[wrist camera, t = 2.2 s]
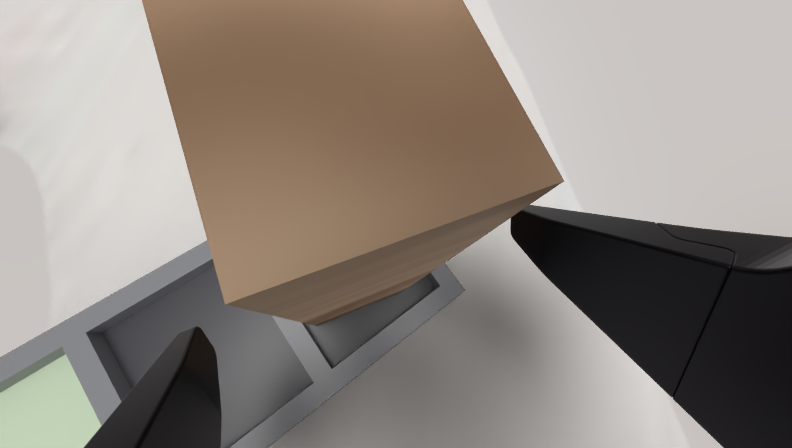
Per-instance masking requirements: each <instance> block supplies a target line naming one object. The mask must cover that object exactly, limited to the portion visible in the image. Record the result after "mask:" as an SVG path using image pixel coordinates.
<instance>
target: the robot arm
mask: <svg viewBox="0 0 792 448" xmlns="http://www.w3.org/2000/svg"><path fill="white" fill-rule="evenodd" d="M511 235H512V237H513V239H514V240H515V241H516V243H517V244H518V245H519V246H520V247H521V248H522V250H523V251H524V252H525V253H526V254H527V256H528V257H529V258H530V259H531V260H532V261H533V263H534V264H535V265H536V266H537V267H538V269H539V270H540V271H541V272H542V273H543V274H544V275H545V276H546V277H547V278H548V279H549V280H550V281H551V282H552V283H553V284H554V285H555V286H556V287H557V288H558V289H559V290H560V291H561V292H562V293H563V294H565V295H566V296H567V297H568V298H569V299H570V300H571V301H572V302H573V303H574V304H575V305H576V306H577V307H578V308H579V309H580V310H581V311H582V312H583V313H584V314H585V315H586V316H587V317H588V318H590V319H591V320H592V321H593V322H594V323H595V324H596V325H597V326H598V327H599V328H600V329H601V330H602V331H603V332H604V333H605V334H606V335H607V336H608V337H609V338H610V339H611V340H612V341H613V342H614V343H616V344H617V345H618V346H619V347H620V348H621V349H622V350H623V351H624V352H625V353H626V354H627V355H628V356H629V357H630V358H631V359H632V360H633V361H634V362H635V363H636V364H637V365H638V366H639V367H641V368H642V369H643V370H644V371H645V372H646V373H647V374H648V375H649V376H650V377H651V378H652V379H653V380H654V381H655V382H656V383H657V384H658V385H659V386H660V387H661V388H662V389H663V390H664V391H666V392H667V393H668V394H669V395H670V396H671V397H673V399H674V400H675V401H676V402H677V403H678V404H679V405H680V406H681V407H682V408H683V409H684V410H685V411H686V412H687V413H688V414H689V415H690V416H691V417H693V419H694V420H695V421H696V422H697V423H699V424H700V425H701V426H702V427H703V428H704V429H705V430H706V431H707V432H708V433H709V434H710V435H711V436H712V437H713V438H714V439H715V440H716V441H717V442H718V443H720V445H721V446H723V447H724V448H792V237H781V236H772V235H761V234H751V233H741V232H730V231H720V230H711V229H702V228H693V227H685V226H678V225H670V224H663V223H657V224H656V223H655V222H648V221H641V220H634V219H626V218H619V217H612V216H605V215H598V214H591V213H584V212H577V211H569V210H562V209H555V208H548V207H541V206H534V205H528V206H527V207H525V208H524V209H522V210H521V211H520V212H518V213H517V214H515V215H514V216H512V217H511ZM221 427H222V412H221V399H220V388H219V377H218V365H217V356H216V352H215V349H214V347H213V345H212V344H211V342H210V341H209V339H208V338H207V336H206V335H205V333H204V332H203V330H202V329H201V328H200V327H198V326H194V327H191V328H188V329H186V330H183V331H181V332H179V333H178V334H177V335H176V336H175V337H174V339H173V340H172V341H171V342H170V344H169V345H168V346H167V347H166V348H165V350H164V351H163V352H162V353H161V354H160V356H159V357H158V358H157V359H156V360H155V362H154V363H153V364H152V365H151V367H150V368H149V369H148V370H147V371H146V373H145V374H144V375H143V376H142V377H141V379H140V380H139V381H138V382H137V384H136V385H135V386H134V387H133V388H132V390H131V391H130V392H129V393H128V394H127V396H126V397H125V398H124V399H123V400H122V402H121V403H120V404H119V405H118V407H117V408H116V409H115V410H114V411H113V413H112V414H111V415H110V416H109V417H108V419H107V420H106V421H105V422H104V424H103V425H102V426H101V427H100V428H99V430H98V431H97V432H96V433H95V434H94V436H93V437H92V438H91V439H90V440H89V442H88V443H87V444H86V445H85V446H84V448H221Z"/></svg>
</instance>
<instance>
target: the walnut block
mask: <svg viewBox="0 0 792 448" xmlns="http://www.w3.org/2000/svg"><path fill="white" fill-rule="evenodd" d="M142 2H143V6H144V10H145V13H146V17H147V21H148V24H149V28H150V32H151V35H152V39H153V42H154V46H155V50H156V53H157V57H158V61H159V64H160V68H161V72H162V75H163V79H164V83H165V86H166V90H167V94H168V97H169V101H170V105H171V108H172V112H173V116H174V119H175V123H176V127H177V130H178V134H179V138H180V141H181V145H182V149H183V152H184V156H185V160H186V163H187V167H188V171H189V174H190V178H191V182H192V185H193V189H194V193H195V196H196V200H197V204H198V207H199V211H200V215H201V218H202V222H203V225H204V229H205V233H206V236H207V240H208V244H209V247H210V251H211V255H212V258H213V262H214V266H215V269H216V273H217V277H218V280H219V284H220V288H221V291H222V295H223V299H224V302H225V304H226V305H230V306H234V307H238V308H243V309H247V310H251V311H255V312H259V313H264V314H268V315H272V316H276V317H281V318H285V319H289V320H293V321H297V322H302V323H306V324H310V325H314V326H319V325H321V324H324V323H326V322H329V321H331V320H334V319H336V318H339V317H341V316H343V315H346V314H348V313H351V312H353V311H356V310H358V309H361V308H363V307H366V306H368V305H371V304H373V303H376V302H378V301H381V300H383V299H385V298H388V297H390V296H393V295H395V294H398V293H400V292H403V291H404V290H406V289H407V288H408V287H410V286H411V285H413V284H414V283H416V282H417V281H419V280H420V279H422V278H423V277H425V276H426V275H427V274H429V273H430V272H432V271H433V270H435V269H436V268H438V267H439V266H441V265H442V264H444V263H445V262H446V261H448V260H449V259H451V258H452V257H454V256H455V255H457V254H458V253H460V252H461V251H463V250H464V249H465V248H467V247H468V246H470V245H471V244H473V243H474V242H476V241H477V240H479V239H480V238H482V237H483V236H484V235H486V234H487V233H489V232H490V231H492V230H493V229H495V228H496V227H498V226H499V225H501V224H502V223H503V222H505V221H506V220H508V219H509V218H511V217H512V216H514V215H515V214H517V213H518V212H520V211H521V210H522V209H524V208H525V207H527V206H528V205H530V204H531V203H533V202H534V201H536V200H537V199H539V198H540V197H541V196H543V195H544V194H546V193H547V192H549V191H550V190H552V189H553V188H555V187H556V186H558V185H559V184H560V183H562V182H563V181H564V180H563V178H562V176H561V175H560V173H559V171H558V169H557V167H556V166H555V164H554V162H553V160H552V158H551V157H550V155H549V153H548V151H547V150H546V148H545V146H544V144H543V142H542V141H541V139H540V137H539V135H538V134H537V132H536V130H535V128H534V126H533V125H532V123H531V121H530V119H529V118H528V116H527V114H526V112H525V110H524V109H523V107H522V105H521V103H520V101H519V100H518V98H517V96H516V94H515V93H514V91H513V89H512V87H511V85H510V84H509V82H508V80H507V78H506V77H505V75H504V73H503V71H502V69H501V68H500V66H499V64H498V62H497V61H496V59H495V57H494V55H493V53H492V52H491V50H490V48H489V46H488V44H487V43H486V41H485V39H484V37H483V36H482V34H481V32H480V30H479V28H478V27H477V25H476V23H475V21H474V20H473V18H472V16H471V14H470V12H469V11H468V9H467V7H466V5H465V3H464V2H463V0H142Z"/></svg>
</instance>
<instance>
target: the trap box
mask: <svg viewBox="0 0 792 448" xmlns="http://www.w3.org/2000/svg"><path fill="white" fill-rule="evenodd" d="M464 291H465V289H464V288H463V287H462V285H461V284H460V283H459V281H458V280H457V279H456V277H455V276H454V275H453V273H452V272H451V271H450V269H449V268H448V267H447V265H446V264H445V263H444V264H442V265H441V266H439V267H438V268H436V269H435V270H433V271H432V272H430V273H429V274H427V275H426V276H425V277H423V278H422V279H420V280H419V281H417V282H416V283H414V284H413V285H411V286H410V287H408V288H407V289H406V290H404V291H403V292H400V293H398V294H395V295H393V296H390V297H388V298H385V299H383V300H381V301H378V302H376V303H373V304H371V305H368V306H366V307H363V308H361V309H358V310H356V311H353V312H351V313H348V314H346V315H343V316H341V317H339V318H336V319H334V320H331V321H329V322H326V323H324V324H321V325H319V326H314V325H310V324H306V323H302V322H297V321H293V320H289V319H285V318H281V317H276V316H272V315H268V314H264V313H259V312H255V311H251V310H247V309H243V308H238V307H234V306H230V305H226V304H225V302H224V299H223V295H222V291H221V288H220V284H219V280H218V277H217V273H216V269H215V266H214V262H213V258H212V255H211V251H210V247H209V244H208V240H207V241H205V242H203V243H202V244H200V245H198V246H196V247H195V248H193V249H191V250H189V251H187V252H186V253H184V254H182V255H180V256H179V257H177V258H175V259H173V260H172V261H170V262H168V263H166V264H164V265H163V266H161V267H159V268H157V269H156V270H154V271H152V272H150V273H149V274H147V275H145V276H143V277H141V278H140V279H138V280H136V281H134V282H133V283H131V284H129V285H127V286H126V287H124V288H122V289H120V290H118V291H117V292H115V293H113V294H111V295H110V296H108V297H106V298H104V299H103V300H101V301H99V302H97V303H95V304H94V305H92V306H90V307H88V308H87V309H85V310H83V311H81V312H80V313H78V314H76V315H74V316H72V317H71V318H69V319H67V320H65V321H64V322H62V323H60V324H58V325H57V326H55V327H53V328H51V329H49V330H48V331H46V332H44V333H42V334H41V335H39V336H37V337H35V338H34V339H32V340H30V341H28V342H27V343H25V344H23V345H22V346H19V347H18V348H16V349H14V350H12V351H11V352H9V353H7V354H5V355H4V356H2V357H0V448H84V446H85V445H86V444H87V443H88V442H89V440H90V439H91V438H92V437H93V436H94V434H95V433H96V432H97V431H98V430H99V428H100V427H101V426H102V425H103V424H104V422H105V421H106V420H107V419H108V417H109V416H110V415H111V414H112V413H113V411H114V410H115V409H116V408H117V407H118V405H119V404H120V403H121V402H122V400H123V399H124V398H125V397H126V396H127V394H128V393H129V392H130V391H131V390H132V388H133V387H134V386H135V385H136V384H137V382H138V381H139V380H140V379H141V377H142V376H143V375H144V374H145V373H146V371H147V370H148V369H149V368H150V367H151V365H152V364H153V363H154V362H155V360H156V359H157V358H158V357H159V356H160V354H161V353H162V352H163V351H164V350H165V348H166V347H167V346H168V345H169V344H170V342H171V341H172V340H173V339H174V337H175V336H176V335H177V334H178V333H179V332H181V331H183V330H186V329H188V328H191V327H194V326H198V327H200V328H201V329H202V330H203V332H204V333H205V335H206V336H207V338H208V339H209V341H210V342H211V344H212V345H213V347H214V349H215V352H216V356H217V365H218V377H219V388H220V399H221V412H222V427H221V448H267V447H269V446H270V445H271V444H272V443H274V442H275V441H276V440H277V439H279V438H280V437H281V436H282V435H284V434H285V433H286V432H287V431H289V430H290V429H291V428H292V427H294V426H295V425H296V424H297V423H299V422H300V421H301V420H302V419H304V418H305V417H306V416H308V415H309V414H310V413H311V412H313V411H314V410H315V409H316V408H318V407H319V406H320V405H321V404H323V403H324V402H325V401H326V400H328V399H329V398H330V397H331V396H333V395H334V394H335V393H336V392H338V391H339V390H340V389H342V388H343V387H344V386H345V385H347V384H348V383H349V382H350V381H352V380H353V379H354V378H355V377H357V376H358V375H359V374H360V373H362V372H363V371H364V370H365V369H367V368H368V367H369V366H370V365H372V364H373V363H374V362H376V361H377V360H378V359H379V358H381V357H382V356H383V355H384V354H386V353H387V352H388V351H389V350H391V349H392V348H393V347H394V346H396V345H397V344H398V343H399V342H401V341H402V340H403V339H404V338H406V337H407V336H408V335H409V334H411V333H412V332H413V331H415V330H416V329H417V328H418V327H420V326H421V325H422V324H423V323H425V322H426V321H427V320H428V319H430V318H431V317H432V316H433V315H435V314H436V313H437V312H438V311H440V310H441V309H442V308H443V307H445V306H446V305H447V304H449V303H450V302H451V301H452V300H454V299H455V298H456V297H457V296H459V295H460V294H461V293H462V292H464Z"/></svg>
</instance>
